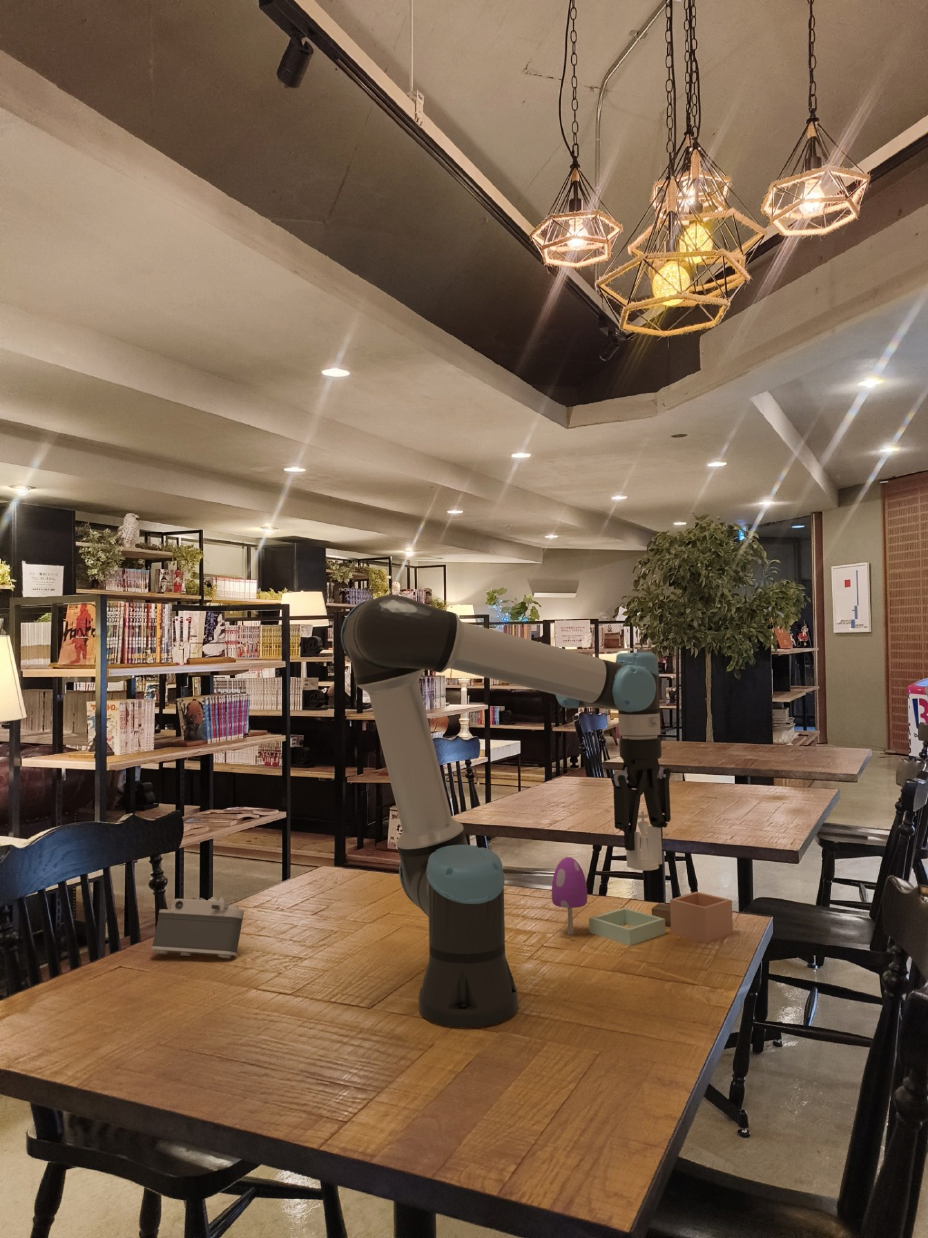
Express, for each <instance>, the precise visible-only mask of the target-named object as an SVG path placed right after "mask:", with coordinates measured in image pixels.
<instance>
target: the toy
mask: <svg viewBox="0 0 928 1238" xmlns="http://www.w3.org/2000/svg"><path fill="white" fill-rule="evenodd" d="M551 882H552V883H551V900H552V904H553V905H554V906H556V907H559V908H566V909H567V934H568V935H569V936H570V935H571V936H572V935H574V932H575V931H574V919H573V909H574V908H575V909H576V908H581V907H584V906H586V905H587V904H588V888H587V880H586V875H585V873H584V871H583V868H582V867H581V865H580V863H579V862H578V861H577V860H576V859H575V858H573V857H572V856H571V857H569V856H567V857H563V858H562V859H561V860H560V861H559V862H558V864H557V866H556V868H555V870H554V873H553V876H552V881H551ZM569 939H571V938H570V937H569Z"/></svg>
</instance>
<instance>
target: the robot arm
mask: <svg viewBox="0 0 928 1238" xmlns="http://www.w3.org/2000/svg"><path fill="white" fill-rule="evenodd" d="M340 641H341V646H342V650H343V651H344V654H345V655H346V656H347V658H348V659H349V660H350V661H351V666H352V670H353V674H354V678H355V682H356V685H357V687H358V688H360V689H361V690H362V691H364V692H366V693H367V694H368V696H369V701H370V705H371V709H372V712H373V717H374V720H375V725H376V729H377V733H378V736H379V737H378V738H379V740H380V745H381V749H382V753H383V756H384V761H385V765H386V770H387V773H388V774H387V775H388V778H389V783H390V786H391V790H392V794H393V797H394V801H395V805H396V810H397V815H398V817H399V818H398V819H399V822H400V825H401V830H402V831H401V833H400V835H399V837H398V839H397V841H396V847H397V853H398V857H399V862H400V863H399V867H398V868H399V871H398V875H399V881H400V884H401V887H402V889H403V892H404V893H405V895H406V896H407V898H408V899H409V900H410V901H411V902H412V903H413V904H414V905H415V906H416V907H418V909H419V910H421V911H422V912H423V913H424V914H425V915H426V916H427V917H428V941H429V942H428V945H429V947H428V951H429V957H428V962H427V966H426V969H425V972H424V976H423V981H422V984H421V985H422V986H421V987H420V990H419V993H418V1011H419V1014H420V1015H421V1016H422V1018H424V1019H425V1020H426V1021H429V1022H430V1023H432V1024H437V1025H441V1026H444V1027H448V1028H449V1027H450V1028H458V1029H459V1028H461V1029H470V1028H471V1029H472V1028H481V1027H482V1028H483V1027H489V1026H493V1025H496V1024H499V1023H503V1022H506V1021H507V1020H509V1019H511V1018H512V1017H513V1016H515V1014H516V1013H517V1012H518V1010H519V999H518V998H519V997H518V996H519V994H518V989H517V986H516V984H515V981H514V977H513V974H512V972H511V969H510V965H509V963H508V959H507V957H506V956H507V955H506V944H505V943H506V934H505V933H506V932H505V931H506V929H505V921H506V920H505V881H506V879H505V874H504V868H503V863H502V860H501V857H499V855H497V853H496V852H494V851H492V850H491V849H488V848H486V847H478V845H471V844H468V841H467V836H466V833H465V827H464V825H463V823H460V822H459V821H457V820H456V819H454V818H453V817H452V813H451V809H450V805H449V801H448V797H447V791H446V789H445V784H444V780H443V777H442V776H443V775H442V772H441V769H440V764H439V759H438V756H437V752H436V747H435V743H434V739H433V735H432V731H431V727H430V723H429V719H428V715H427V711H426V707H425V703H424V700H423V699H424V698H423V695H422V690H421V686H420V682H419V681H420V679H421V677H422V675H423V673H424V672H425V670H426V671H431V672H436V673H440V674H441V673H444V672H445V671H446V670H448V669H449V670H450V669H451V670H455V671H458V672H461V673H465V674H470V675H474V676H479V677H482V678H487V679H490V680H496V681H499V682H504V683H507V684H511V685H515V686H519V687H524V688H527V689H533V690H536V691H541V692H545V693H548V694H551V695H552V694H553V695H555V697H556V700H557V703H558V704H559V705H560V706H561V707H563V708H567V709H568V708H569V709H570V708H571V709H572V708H575V709H579V708H595V709H602V710H603V709H605V710H615V711H618V712H617V713H618V715H617V716H618V717H617V718H618V734H619V736H621V738H619V740H618V741H619V746H618V748H619V757H620V758H621V759H622V761H623V764H622V766H621V767H622V768H621V771H619V773H612V774H611V776H610V780H611V784H612V787H613V815H614V820H613V821H614V828H615V829H617V830H619V831H623V841H624V843H623V844H624V849H625V850H626V851H625V852H626V867H627V868H630V869H633V870H636V869H637V871H640V870H639V869H641V853H640V851H641V838H640V833H641V832H640V831H637V827H638V820H639V818H638V815H639V813H640V812H639V811H640V805H641V798H642V795H643V797H644V801H645V807H646V810H647V815H648V819H649V821H648V822H649V825H648V828H647V832H646V833H647V834H648V835H649V836H650V837H648V838H646V839H647V846H648V852H649V857H651V859H650V860H653V861H656V862H658V866H660V865H663V851H662V850H663V847H662V846H663V842H664V836H663V833H664V832H663V828H667V827H668V823H669V822H670V821H671V820H672V819H671V816H672V815H671V796H670V795H671V794H670V793H671V792H670V779H671V778H670V777H671V772H672V771H671V768H668V767H662V766H661V765H660V761H659V759H660V758H661V757H662V754H663V753H662V739H661V738H660V737H658V736H660V735H661V716H660V714H661V711H660V709H661V708H660V707H661V706H660V673H659V663H658V657H657V655H656V654H655V653H653V652H650V651H649V652H622V653H621V652H620V653H618V654H617V655H616V657H615V661H612V660H607V659H603V658H602V659H601V658H600V657H597V656H593V655H589V654H584V653H581V652H577V651H573V650H569V649H566V648H562V647H558V646H555V645H551V644H546V643H543V642H540V641H537V640H532V639H529V638H524V637H521V636H516V635H514V634H510V633H506V632H501V631H498V630H494V629H490V628H487V627H483V626H479V625H476V624H471V623H468V622H465V621H462V620H461V619H460V617H459V615H458V614H457V613H455V612H452V611H448V610H445V609H441V608H439V607H436V606H433V605H430V604H427V603H424V602H422V601H419V600H418V601H417V600H416V599H413V598H410V597H407V596H404V595H398V594H385V595H382V596H378V597H375V598H370V599H369V598H368V599H367V600H364V601H362V602H361V601H360V603H358V604H356V606H354V607H353V608H352V609H351V610H350V611H349V613H348V614H347V616H346V617H345V619H344V620H343V623H342V626H341V632H340Z"/></svg>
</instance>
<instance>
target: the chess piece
mask: <svg viewBox="0 0 928 1238" xmlns="http://www.w3.org/2000/svg"><path fill="white" fill-rule="evenodd" d="M638 819H641V820H639V821H637V827H638V829H639V832H640V853H641V869H639V870H637V869H635V871H636V870H637V871H654V870H658V869H659V868H660V865H659V864H658V862H656V861H653V860H650V859H651V857H649V852H648V841H647V838H648V837H650V836H649V835H648V834H647V828H648V826H650V822H649V821H647V820H645V819H649V816H648V814H645V813H644V811H641V814H638Z"/></svg>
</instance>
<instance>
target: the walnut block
mask: <svg viewBox="0 0 928 1238" xmlns="http://www.w3.org/2000/svg"><path fill="white" fill-rule="evenodd" d="M651 915H653V916H656V917H660V918H664V919H665V928H671V916H670V904H668V903H660V902H659V903H657V904H655V905H654V906H653V907H651Z"/></svg>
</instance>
